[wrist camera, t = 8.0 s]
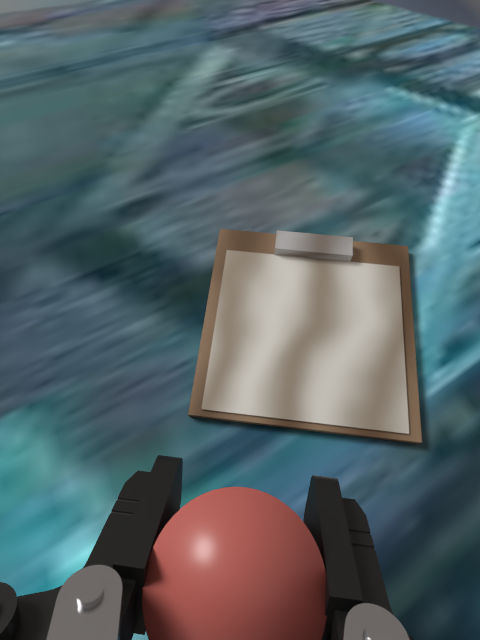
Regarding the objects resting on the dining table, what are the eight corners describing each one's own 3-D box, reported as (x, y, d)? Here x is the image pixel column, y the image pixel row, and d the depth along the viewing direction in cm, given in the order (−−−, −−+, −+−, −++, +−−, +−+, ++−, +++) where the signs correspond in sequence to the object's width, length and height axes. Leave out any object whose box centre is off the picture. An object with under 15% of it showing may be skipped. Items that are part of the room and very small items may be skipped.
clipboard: (189, 416, 31) (186, 411, 29) (220, 233, 38) (219, 220, 36) (417, 443, 30) (428, 440, 28) (404, 251, 37) (412, 238, 35)
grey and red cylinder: (182, 588, 16) (121, 693, 8) (198, 483, 17) (162, 476, 9) (279, 602, 16) (324, 725, 7) (286, 495, 17) (330, 498, 9)
